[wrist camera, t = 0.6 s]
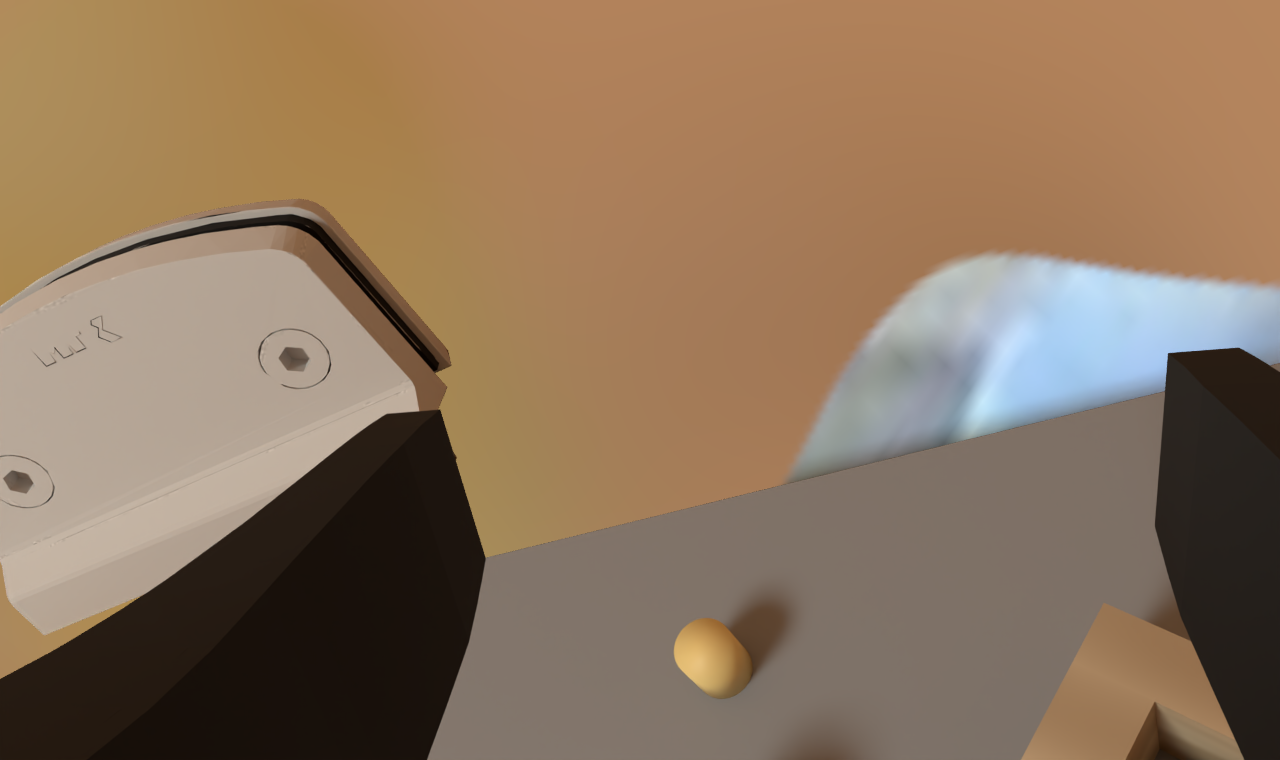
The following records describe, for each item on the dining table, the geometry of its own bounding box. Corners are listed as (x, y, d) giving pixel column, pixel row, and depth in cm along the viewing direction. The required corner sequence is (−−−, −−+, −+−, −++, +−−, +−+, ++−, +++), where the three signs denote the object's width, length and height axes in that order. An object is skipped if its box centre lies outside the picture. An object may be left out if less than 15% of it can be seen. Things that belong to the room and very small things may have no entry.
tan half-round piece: (34, 639, 39) (-198, 423, 34) (85, 547, 43) (-116, 342, 38) (464, 462, 35) (279, 195, 30) (476, 381, 39) (314, 132, 34)
